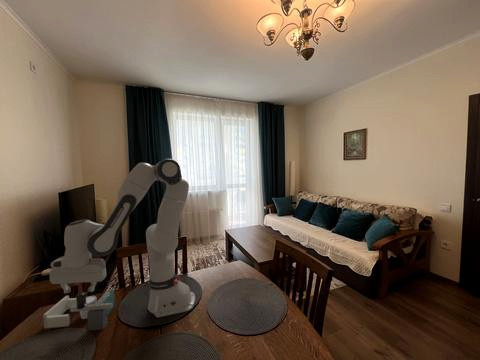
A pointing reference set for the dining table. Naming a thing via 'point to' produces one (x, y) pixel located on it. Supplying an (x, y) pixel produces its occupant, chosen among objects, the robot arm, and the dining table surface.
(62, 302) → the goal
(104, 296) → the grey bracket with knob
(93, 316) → the rod housing
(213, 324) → the dining table surface
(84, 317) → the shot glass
